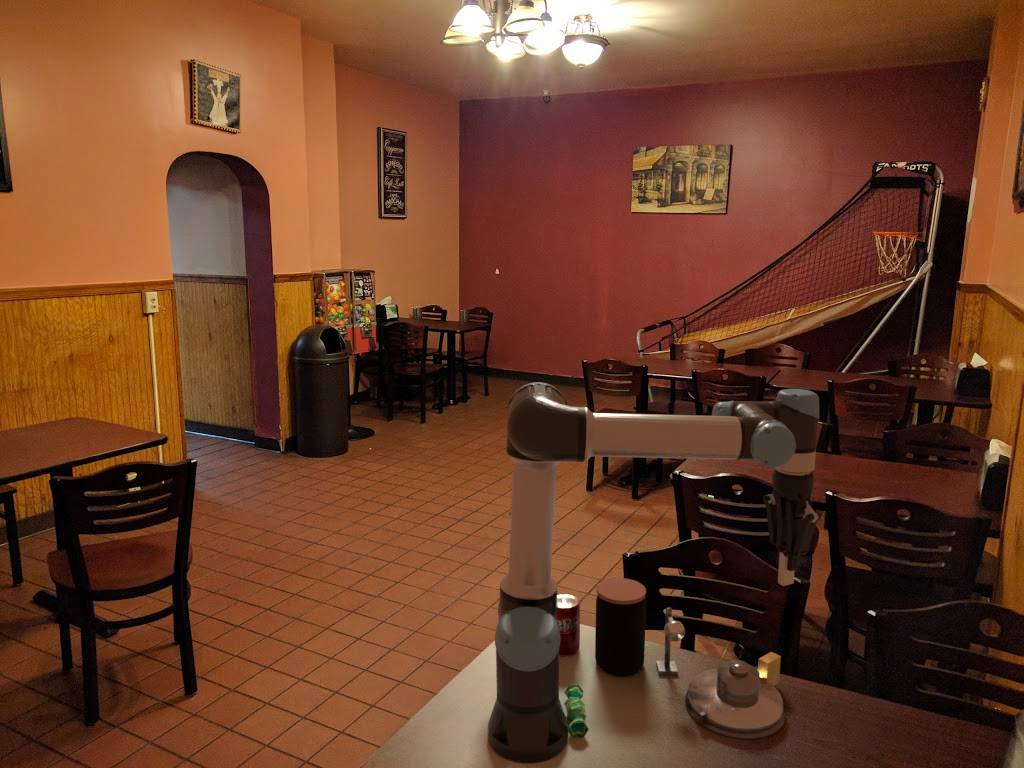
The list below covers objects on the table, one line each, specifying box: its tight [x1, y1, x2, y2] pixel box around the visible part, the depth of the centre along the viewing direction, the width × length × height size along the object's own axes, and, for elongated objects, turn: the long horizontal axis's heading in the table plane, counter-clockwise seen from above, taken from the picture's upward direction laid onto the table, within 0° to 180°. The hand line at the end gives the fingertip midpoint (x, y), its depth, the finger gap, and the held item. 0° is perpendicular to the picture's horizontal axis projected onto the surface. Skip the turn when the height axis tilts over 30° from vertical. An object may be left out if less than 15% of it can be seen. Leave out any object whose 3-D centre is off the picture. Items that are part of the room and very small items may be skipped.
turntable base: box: [684, 690, 786, 741], centre depth 147 cm, size 19×19×1 cm
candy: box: [564, 684, 590, 739], centre depth 144 cm, size 12×3×4 cm
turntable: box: [687, 651, 784, 733], centre depth 148 cm, size 21×18×6 cm
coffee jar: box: [594, 577, 647, 678], centre depth 161 cm, size 11×11×18 cm
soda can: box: [556, 593, 581, 658], centre depth 167 cm, size 7×7×12 cm
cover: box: [716, 659, 760, 708], centre depth 146 cm, size 8×8×7 cm
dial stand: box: [655, 606, 686, 677], centre depth 156 cm, size 4×9×15 cm, turn 178°
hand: (785, 583), depth 147 cm, fingers closed
